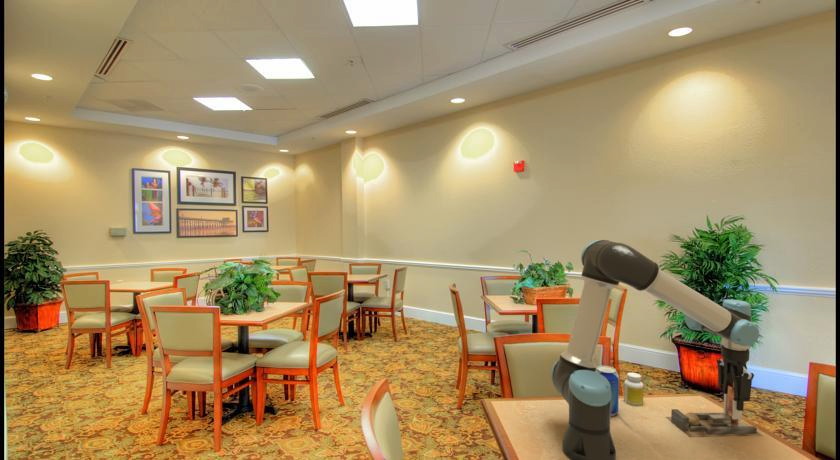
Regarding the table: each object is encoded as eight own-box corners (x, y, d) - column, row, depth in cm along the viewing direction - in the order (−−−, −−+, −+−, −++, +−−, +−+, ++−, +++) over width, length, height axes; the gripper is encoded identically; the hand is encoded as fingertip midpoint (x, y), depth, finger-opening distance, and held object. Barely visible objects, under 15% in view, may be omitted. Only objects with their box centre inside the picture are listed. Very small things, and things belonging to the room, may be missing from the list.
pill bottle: (645, 410, 156) (646, 379, 155) (626, 408, 157) (627, 377, 157) (640, 402, 162) (640, 372, 162) (621, 400, 164) (622, 371, 163)
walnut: (689, 429, 140) (689, 416, 139) (680, 422, 144) (681, 410, 144) (702, 429, 140) (702, 416, 140) (693, 422, 144) (693, 410, 144)
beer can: (594, 415, 152) (595, 372, 151) (591, 405, 160) (592, 363, 159) (619, 419, 149) (620, 374, 148) (616, 408, 157) (617, 366, 156)
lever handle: (718, 431, 139) (719, 391, 138) (702, 420, 146) (704, 382, 145) (749, 430, 139) (751, 391, 138) (732, 419, 146) (734, 382, 145)
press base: (689, 440, 135) (690, 423, 135) (664, 420, 148) (665, 404, 148) (762, 439, 136) (763, 422, 136) (732, 418, 149) (732, 403, 149)
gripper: (767, 355, 133) (763, 428, 134) (727, 339, 149) (725, 404, 150) (743, 355, 133) (740, 428, 134) (706, 339, 149) (704, 404, 150)
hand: (732, 415), depth 142 cm, fingers closed on lever handle, 3 cm apart
